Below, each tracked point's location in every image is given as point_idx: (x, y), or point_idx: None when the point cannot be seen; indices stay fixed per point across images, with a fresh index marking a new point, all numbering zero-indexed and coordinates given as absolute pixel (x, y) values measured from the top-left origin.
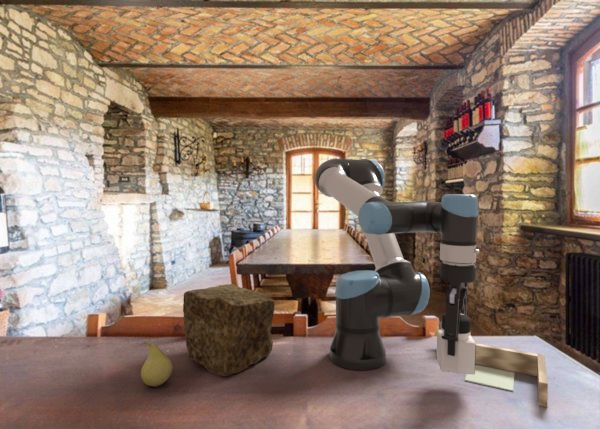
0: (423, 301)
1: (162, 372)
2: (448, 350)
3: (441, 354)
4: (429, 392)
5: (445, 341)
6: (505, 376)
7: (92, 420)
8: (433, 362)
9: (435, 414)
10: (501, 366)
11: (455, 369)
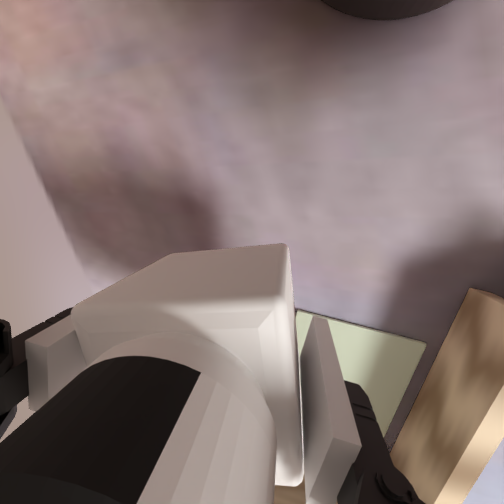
0: None
1: None
2: (55, 320)
3: (130, 275)
4: (193, 207)
5: (45, 329)
6: None
7: None
8: (425, 224)
9: (93, 220)
10: (411, 425)
11: None
